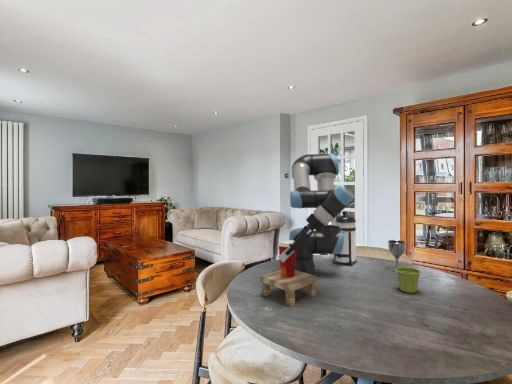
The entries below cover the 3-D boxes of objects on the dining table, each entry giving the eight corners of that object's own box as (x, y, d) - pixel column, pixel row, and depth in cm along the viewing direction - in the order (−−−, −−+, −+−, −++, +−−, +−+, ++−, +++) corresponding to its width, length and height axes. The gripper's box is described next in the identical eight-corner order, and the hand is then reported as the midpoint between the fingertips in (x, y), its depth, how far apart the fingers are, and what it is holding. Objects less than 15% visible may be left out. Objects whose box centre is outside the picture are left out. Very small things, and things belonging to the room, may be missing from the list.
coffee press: (325, 260, 171) (325, 210, 171) (351, 259, 173) (350, 209, 172) (337, 268, 154) (336, 212, 153) (365, 267, 156) (364, 212, 155)
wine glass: (406, 269, 150) (405, 240, 150) (404, 273, 143) (404, 243, 143) (389, 267, 154) (389, 239, 154) (387, 271, 148) (387, 242, 148)
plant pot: (424, 295, 114) (424, 273, 114) (399, 294, 116) (399, 272, 116) (416, 287, 123) (416, 267, 123) (393, 286, 125) (392, 266, 125)
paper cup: (298, 273, 119) (298, 240, 119) (295, 279, 112) (294, 243, 112) (280, 272, 122) (280, 239, 122) (275, 277, 115) (275, 242, 114)
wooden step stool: (261, 295, 117) (260, 276, 117) (286, 285, 128) (286, 268, 128) (290, 306, 105) (290, 285, 105) (316, 295, 116) (316, 275, 116)
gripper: (327, 230, 101) (286, 271, 104) (325, 222, 126) (291, 255, 129) (312, 215, 102) (271, 256, 105) (312, 210, 127) (279, 243, 130)
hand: (282, 255), depth 117 cm, fingers open, 13 cm apart
